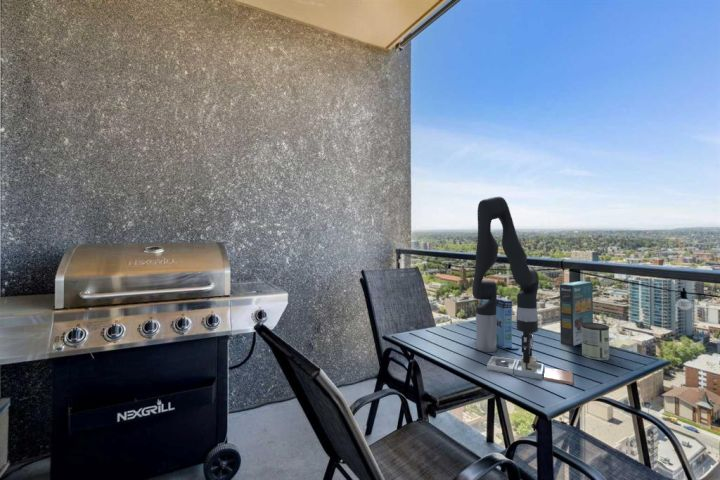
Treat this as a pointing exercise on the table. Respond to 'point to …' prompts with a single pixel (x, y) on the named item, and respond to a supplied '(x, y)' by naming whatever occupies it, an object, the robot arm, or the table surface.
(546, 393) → the table surface
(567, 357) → the table surface
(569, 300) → the cake mix box
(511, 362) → the near tray
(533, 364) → the letter cube
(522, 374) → the middle tray
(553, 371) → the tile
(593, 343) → the coffee can
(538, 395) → the table surface
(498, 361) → the grey domed disc
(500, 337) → the gum box
